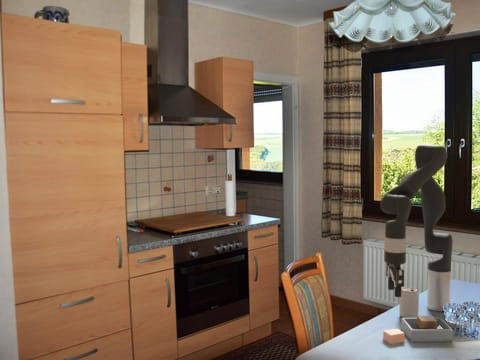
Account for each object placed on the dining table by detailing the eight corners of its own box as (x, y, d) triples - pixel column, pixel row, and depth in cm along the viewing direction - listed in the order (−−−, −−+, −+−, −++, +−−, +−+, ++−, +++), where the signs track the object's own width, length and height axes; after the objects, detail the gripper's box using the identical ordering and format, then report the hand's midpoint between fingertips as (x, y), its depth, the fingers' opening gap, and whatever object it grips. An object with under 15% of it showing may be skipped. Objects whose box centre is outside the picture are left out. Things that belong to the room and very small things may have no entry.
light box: (383, 339, 179) (383, 330, 179) (396, 337, 181) (396, 328, 181) (390, 344, 175) (390, 335, 175) (404, 342, 177) (404, 333, 177)
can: (419, 320, 197) (420, 292, 196) (400, 319, 198) (401, 291, 197) (416, 314, 204) (417, 286, 203) (398, 313, 205) (398, 285, 204)
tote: (401, 329, 188) (401, 317, 188) (440, 329, 188) (440, 317, 187) (411, 342, 176) (411, 330, 176) (453, 342, 176) (453, 330, 176)
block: (421, 336, 179) (421, 321, 179) (416, 330, 185) (417, 315, 184) (436, 336, 179) (437, 321, 179) (431, 330, 185) (431, 315, 184)
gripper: (411, 254, 168) (411, 299, 169) (399, 245, 182) (398, 287, 183) (390, 254, 168) (389, 299, 169) (379, 245, 182) (379, 287, 184)
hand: (394, 293), depth 176 cm, fingers open, 8 cm apart
